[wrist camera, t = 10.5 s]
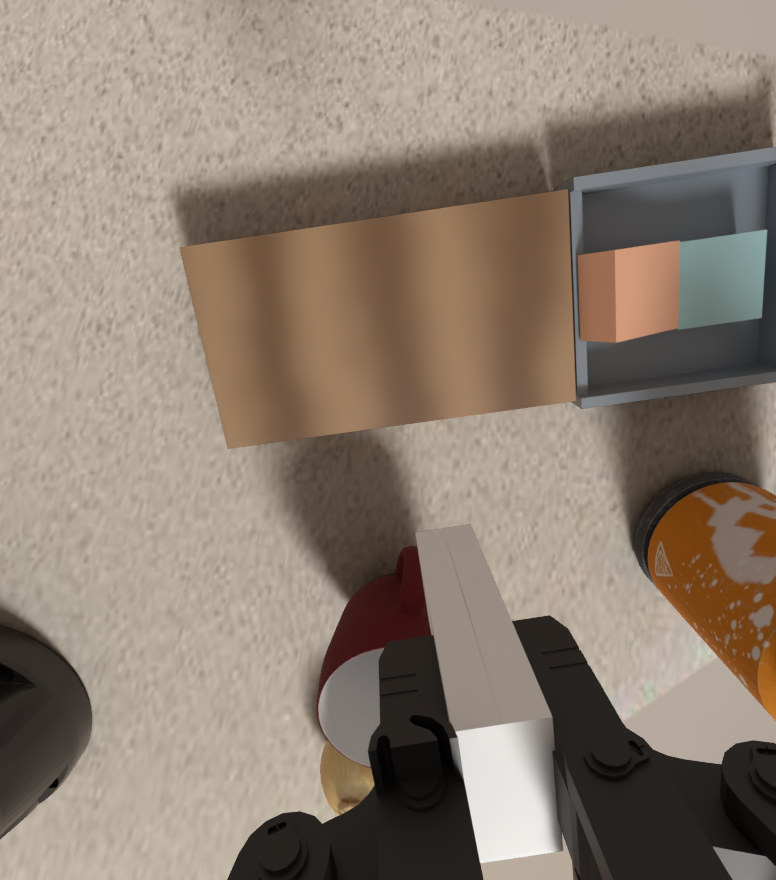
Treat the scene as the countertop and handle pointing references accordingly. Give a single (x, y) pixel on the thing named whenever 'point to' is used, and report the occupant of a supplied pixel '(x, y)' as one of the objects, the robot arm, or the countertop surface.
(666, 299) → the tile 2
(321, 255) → the tan wooden flat box
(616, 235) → the box
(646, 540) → the canister
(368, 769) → the onion
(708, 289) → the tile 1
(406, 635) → the mug
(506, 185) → the countertop surface
